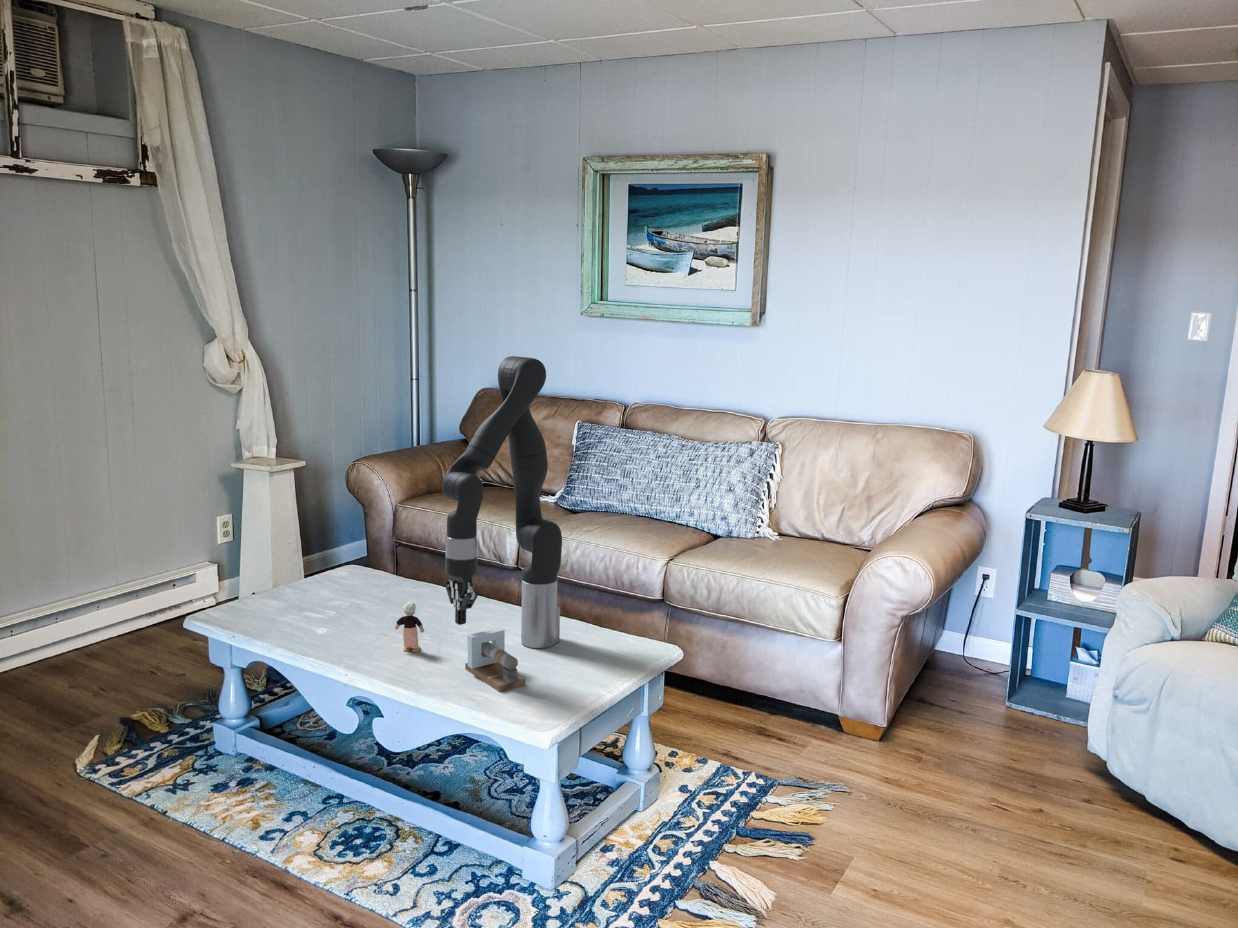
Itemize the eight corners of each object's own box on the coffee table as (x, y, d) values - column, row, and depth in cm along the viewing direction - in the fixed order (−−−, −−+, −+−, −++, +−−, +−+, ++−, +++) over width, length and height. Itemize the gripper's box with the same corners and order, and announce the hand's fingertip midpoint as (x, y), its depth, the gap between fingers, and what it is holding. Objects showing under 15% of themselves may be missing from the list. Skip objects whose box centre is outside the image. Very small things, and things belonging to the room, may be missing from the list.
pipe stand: (490, 662, 234) (490, 633, 232) (525, 684, 221) (525, 654, 220) (464, 668, 230) (464, 639, 228) (499, 691, 217) (499, 660, 216)
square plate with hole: (500, 657, 232) (500, 627, 230) (504, 660, 230) (504, 629, 229) (467, 665, 226) (467, 634, 225) (471, 668, 225) (471, 637, 223)
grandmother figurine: (426, 647, 243) (425, 600, 241) (423, 652, 239) (423, 604, 237) (396, 646, 243) (395, 599, 240) (393, 652, 239) (392, 604, 237)
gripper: (489, 558, 223) (487, 628, 226) (462, 546, 233) (461, 613, 236) (460, 562, 219) (459, 634, 221) (434, 549, 229) (434, 618, 232)
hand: (460, 623), depth 229 cm, fingers closed
